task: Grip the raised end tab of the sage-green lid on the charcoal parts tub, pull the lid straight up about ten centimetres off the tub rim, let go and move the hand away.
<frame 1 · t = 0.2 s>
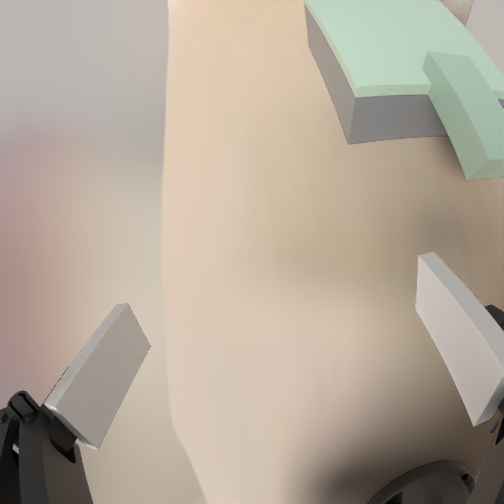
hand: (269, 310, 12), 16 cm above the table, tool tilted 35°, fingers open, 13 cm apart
tub: (397, 82, 29), on the table
lid: (430, 54, 18), point 10 cm above the table, slide at 0.0 cm
planter: (437, 20, 29), on the table
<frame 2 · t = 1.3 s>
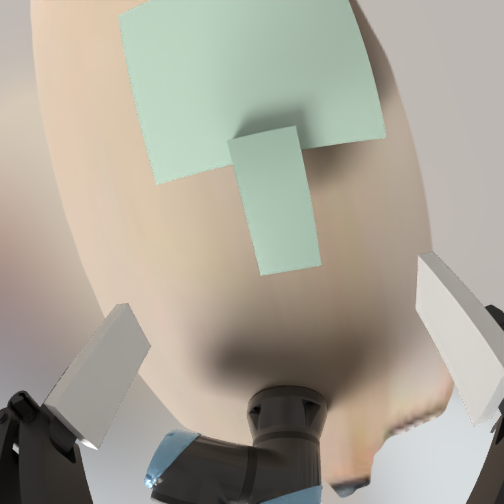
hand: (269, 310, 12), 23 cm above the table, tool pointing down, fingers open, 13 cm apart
lid: (255, 103, 20), point 10 cm above the table, slide at 0.0 cm
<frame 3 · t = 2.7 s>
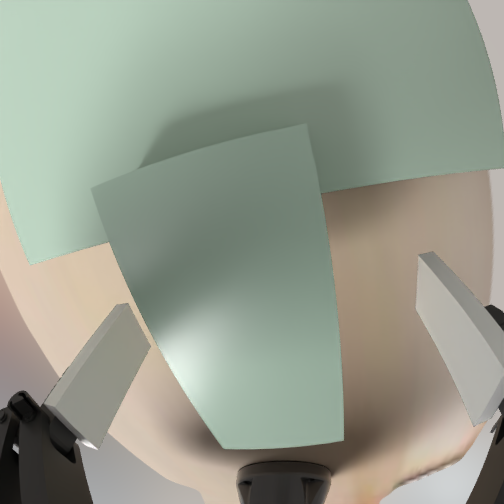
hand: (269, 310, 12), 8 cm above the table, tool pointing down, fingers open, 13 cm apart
lid: (191, 68, 7), point 10 cm above the table, slide at 0.0 cm
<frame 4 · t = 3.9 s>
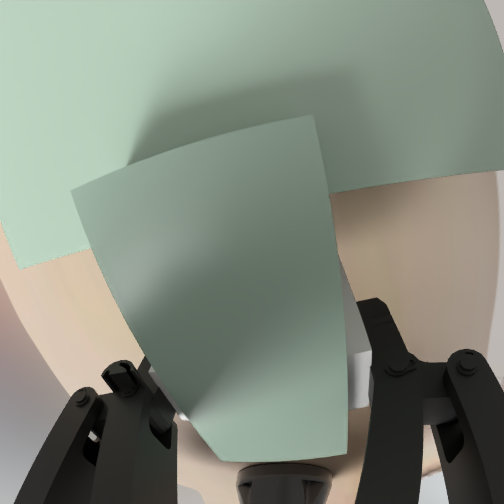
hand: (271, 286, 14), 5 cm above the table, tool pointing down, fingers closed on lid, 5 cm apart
lid: (183, 57, 6), point 10 cm above the table, slide at 0.0 cm, touching gripper
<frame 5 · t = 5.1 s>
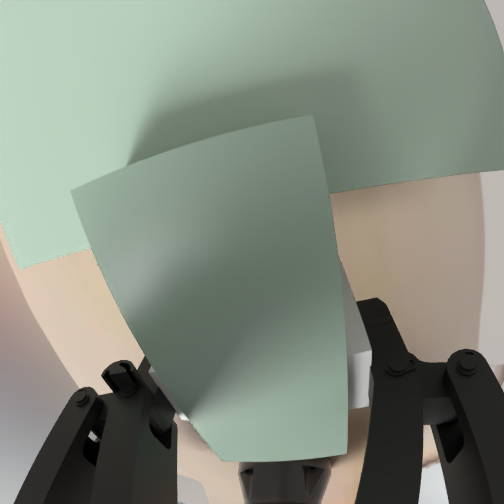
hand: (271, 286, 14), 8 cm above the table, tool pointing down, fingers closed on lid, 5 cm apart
lid: (183, 57, 6), point 12 cm above the table, slide at 2.4 cm, touching gripper
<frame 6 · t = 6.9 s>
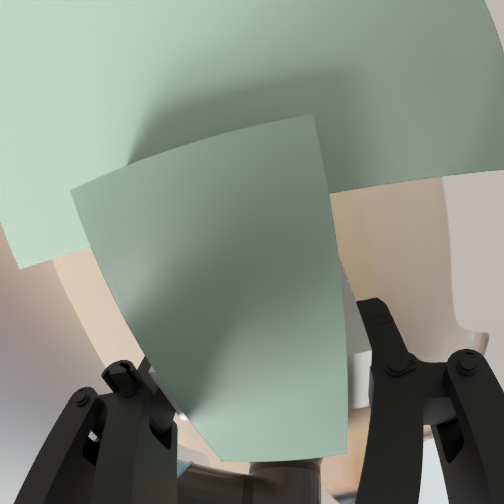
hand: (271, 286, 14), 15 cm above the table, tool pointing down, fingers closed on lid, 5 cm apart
lid: (183, 57, 6), point 20 cm above the table, slide at 9.9 cm, touching gripper
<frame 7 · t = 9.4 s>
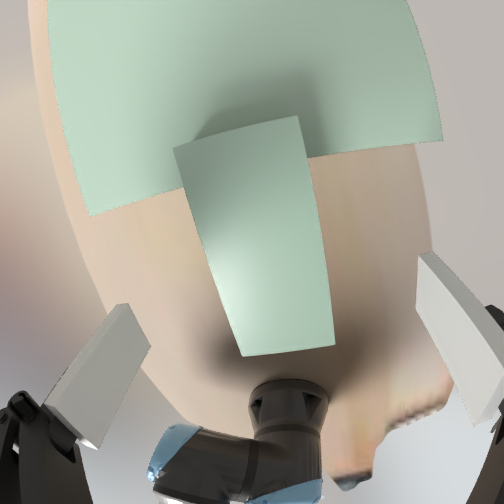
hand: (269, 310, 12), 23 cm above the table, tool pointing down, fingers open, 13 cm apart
lid: (228, 80, 11), point 20 cm above the table, slide at 10.0 cm
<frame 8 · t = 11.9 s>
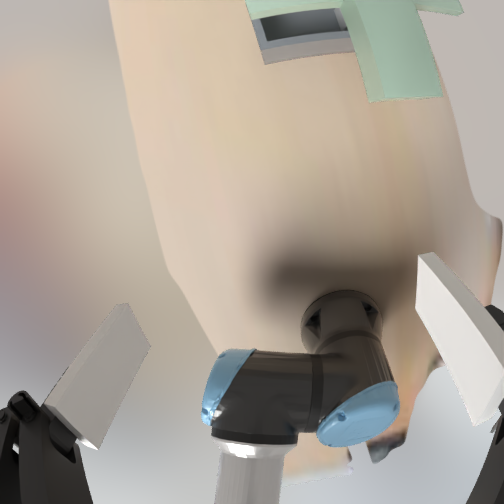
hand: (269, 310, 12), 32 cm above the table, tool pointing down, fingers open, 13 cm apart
tub: (316, 4, 28), on the table
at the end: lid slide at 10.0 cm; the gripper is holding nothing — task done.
